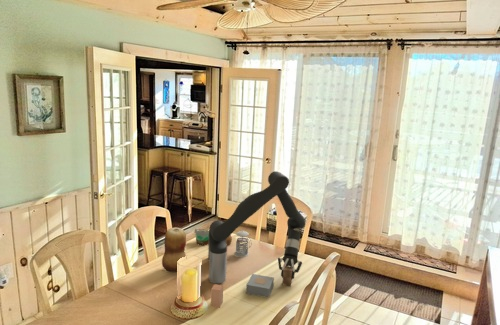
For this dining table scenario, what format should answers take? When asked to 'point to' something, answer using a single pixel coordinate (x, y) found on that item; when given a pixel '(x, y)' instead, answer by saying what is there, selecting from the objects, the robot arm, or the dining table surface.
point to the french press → (243, 251)
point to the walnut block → (287, 275)
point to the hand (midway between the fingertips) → (287, 278)
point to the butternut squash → (173, 248)
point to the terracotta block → (217, 295)
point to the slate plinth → (260, 285)
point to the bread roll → (229, 240)
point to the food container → (202, 236)
